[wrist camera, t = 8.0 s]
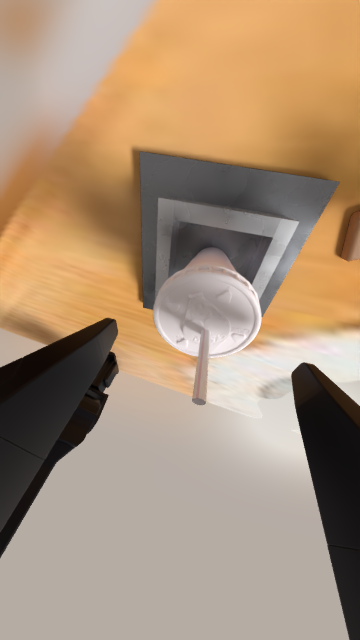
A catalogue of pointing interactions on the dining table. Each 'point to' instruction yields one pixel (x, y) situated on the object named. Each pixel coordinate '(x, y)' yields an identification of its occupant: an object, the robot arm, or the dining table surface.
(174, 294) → the smoothie
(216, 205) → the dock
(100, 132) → the dining table surface
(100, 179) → the dining table surface
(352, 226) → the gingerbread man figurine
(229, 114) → the dining table surface
